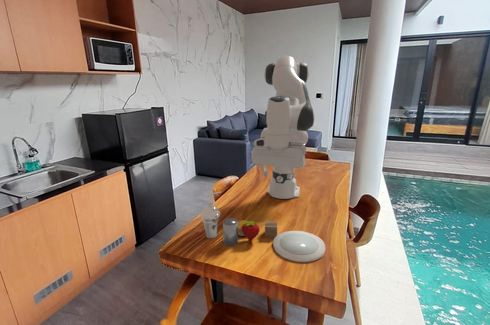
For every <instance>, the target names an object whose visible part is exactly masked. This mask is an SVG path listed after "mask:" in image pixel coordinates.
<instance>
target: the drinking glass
mask: <svg viewBox="0 0 490 325" xmlns="http://www.w3.org/2000/svg"><path fill="white" fill-rule="evenodd" d="M222 232H223V234H222V236H223V237H222V238H223V241H222V242H223V245H225V246H226V247H233V246H236V245H238V243H239V235H238V219H237V218H233V217H228V218H225V219H224V220H223V221H222Z"/></svg>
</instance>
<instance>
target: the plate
mask: <svg viewBox="0 0 490 325" xmlns="http://www.w3.org/2000/svg"><path fill="white" fill-rule="evenodd" d="M272 241H273V242H272V243H273V244H272V247H273V250H274V251H275V253H276V254H277V255H279V256H280V257H281V258H283V259H286V260H288V261H291V262H297V263H310V262H311V263H312V262H315V261H318V260H319V259H321V258H322V257H323V256H324V255H325V253H326V244H325V242H324V241H323V239H321V238H320V237H319V236H318V235H316V234H313V233H310V232H308V231H303V230H289V231H283V232H280V233H278V234H277V236H276V237H275V238H273V240H272Z"/></svg>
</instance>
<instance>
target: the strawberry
mask: <svg viewBox="0 0 490 325" xmlns="http://www.w3.org/2000/svg"><path fill="white" fill-rule="evenodd" d="M241 230H242V233H243V234H244V235H245V236H244V237H245V238H246V239H247V240H248V241H250V242H251V241H253V240H254V239H255V238H256V237H258V235H259V233H260V230H261V229H260V225H259V224H258V223H257V222H255V221H254V220H253V221H252V220H250V219H249V220H248V222H245V224H243V225H242V228H241Z"/></svg>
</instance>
